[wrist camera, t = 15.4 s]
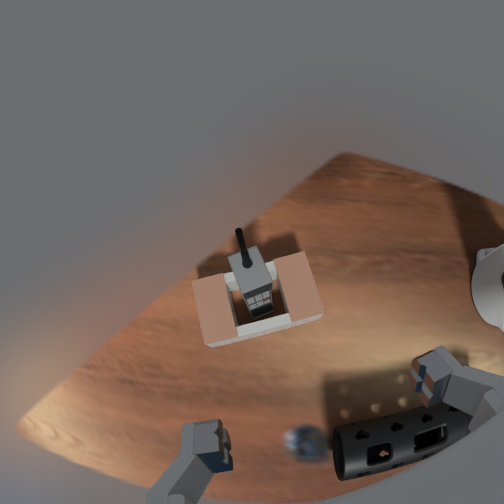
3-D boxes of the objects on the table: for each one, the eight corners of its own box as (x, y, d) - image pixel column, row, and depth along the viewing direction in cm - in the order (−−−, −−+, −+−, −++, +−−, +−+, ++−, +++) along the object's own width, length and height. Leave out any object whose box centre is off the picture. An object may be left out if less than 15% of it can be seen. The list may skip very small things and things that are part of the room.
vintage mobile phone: (253, 320, 48) (230, 268, 25) (242, 293, 50) (211, 220, 27) (274, 311, 48) (271, 251, 25) (263, 285, 50) (250, 205, 27)
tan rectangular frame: (301, 263, 51) (304, 250, 46) (319, 318, 47) (324, 311, 42) (200, 290, 50) (191, 280, 45) (212, 347, 46) (204, 343, 41)
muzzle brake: (329, 418, 40) (343, 430, 31) (470, 382, 39) (504, 379, 29) (331, 470, 37) (344, 492, 27) (471, 428, 35) (504, 433, 26)
